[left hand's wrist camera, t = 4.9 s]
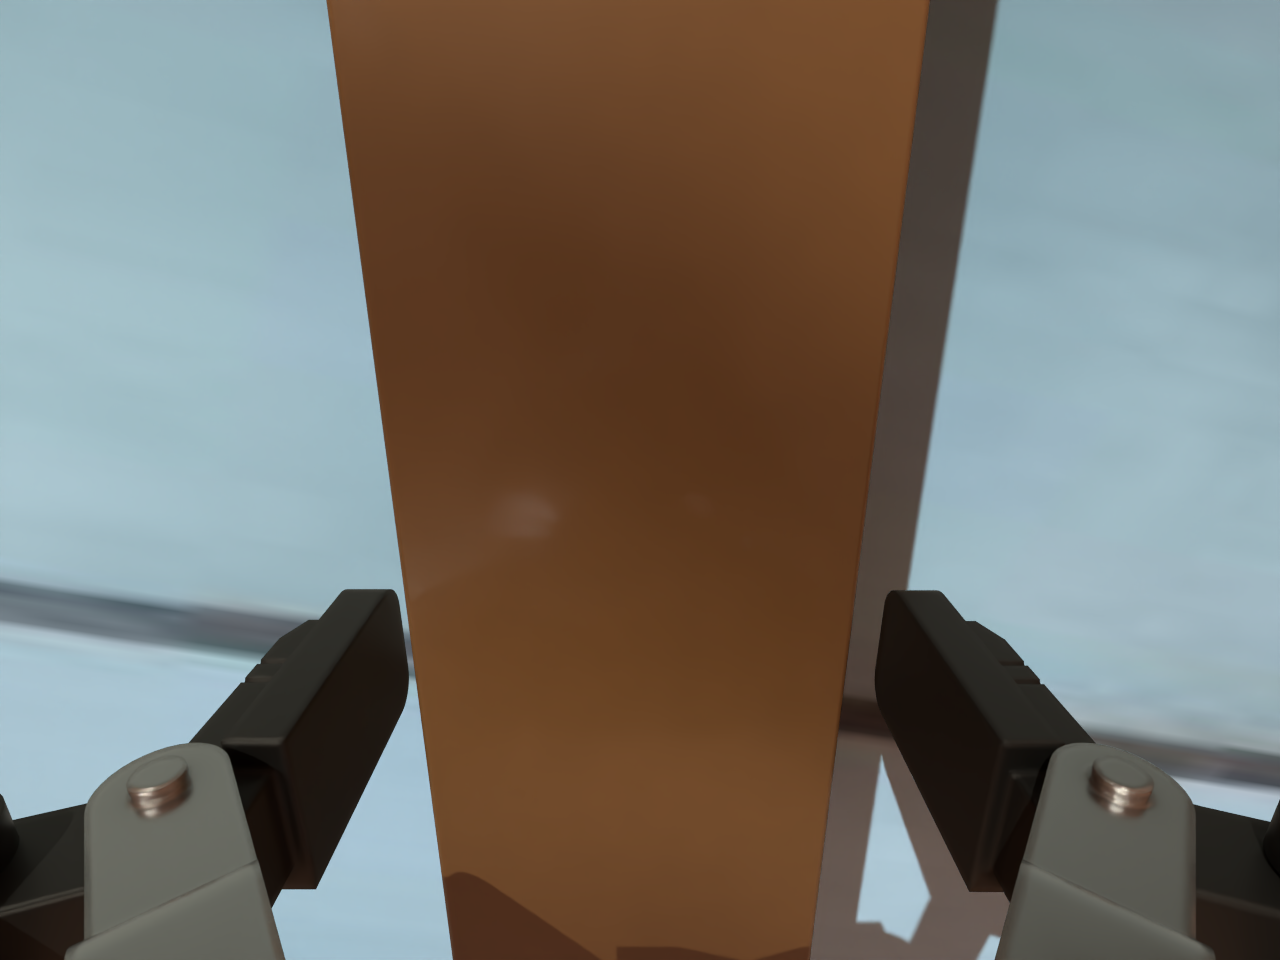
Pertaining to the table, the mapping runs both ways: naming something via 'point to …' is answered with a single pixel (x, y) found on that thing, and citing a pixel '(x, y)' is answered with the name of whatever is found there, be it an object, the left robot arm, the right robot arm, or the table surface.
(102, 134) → the table surface
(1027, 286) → the table surface
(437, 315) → the bar
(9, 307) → the table surface
